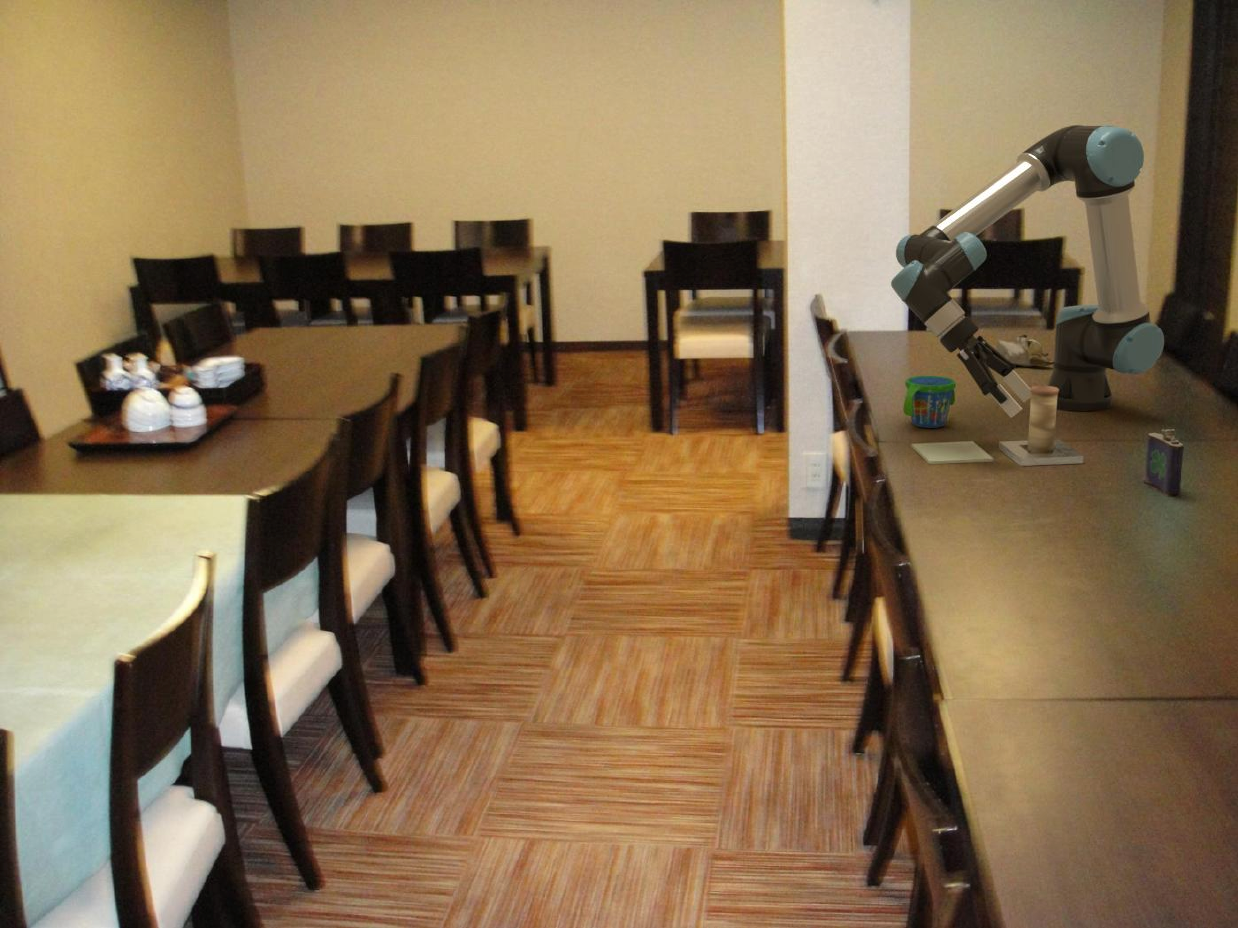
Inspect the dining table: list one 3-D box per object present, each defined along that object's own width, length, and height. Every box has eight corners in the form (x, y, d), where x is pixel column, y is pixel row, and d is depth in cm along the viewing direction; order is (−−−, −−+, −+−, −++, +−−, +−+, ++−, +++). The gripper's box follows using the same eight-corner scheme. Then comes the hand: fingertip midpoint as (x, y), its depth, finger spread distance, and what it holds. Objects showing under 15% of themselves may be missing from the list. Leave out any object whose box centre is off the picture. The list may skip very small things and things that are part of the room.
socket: (1058, 446, 267) (1058, 439, 266) (1082, 463, 255) (1083, 456, 254) (998, 448, 266) (999, 441, 266) (1020, 466, 254) (1021, 458, 254)
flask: (1140, 481, 243) (1146, 422, 239) (1155, 480, 243) (1161, 421, 240) (1169, 497, 233) (1175, 436, 230) (1185, 496, 234) (1191, 435, 230)
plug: (1047, 451, 263) (1052, 385, 259) (1058, 459, 258) (1063, 391, 254) (1022, 452, 263) (1026, 386, 259) (1031, 460, 258) (1036, 392, 254)
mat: (972, 444, 270) (972, 441, 270) (993, 461, 257) (993, 458, 257) (911, 446, 269) (911, 443, 269) (929, 464, 257) (929, 461, 257)
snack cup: (935, 414, 294) (937, 371, 291) (971, 423, 285) (973, 379, 282) (886, 425, 286) (887, 381, 283) (921, 435, 277) (923, 389, 274)
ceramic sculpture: (994, 329, 342) (1050, 332, 342) (990, 361, 345) (1046, 364, 344) (1002, 337, 332) (1061, 340, 332) (998, 370, 335) (1056, 373, 334)
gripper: (952, 328, 273) (1020, 403, 271) (923, 350, 252) (996, 432, 250) (979, 305, 269) (1048, 380, 267) (951, 325, 248) (1026, 408, 246)
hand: (1023, 405), depth 258 cm, fingers open, 13 cm apart
